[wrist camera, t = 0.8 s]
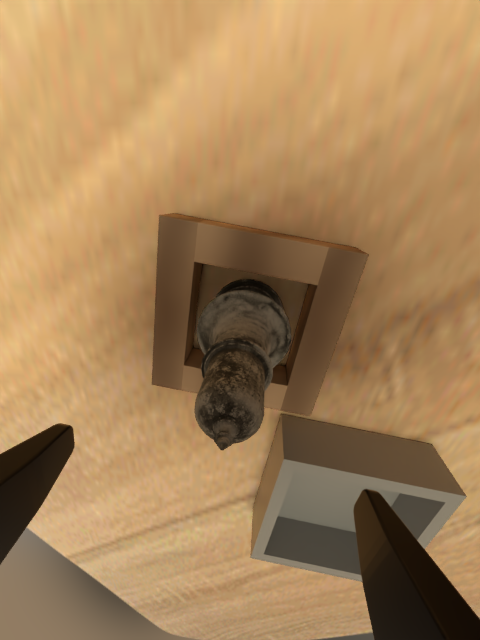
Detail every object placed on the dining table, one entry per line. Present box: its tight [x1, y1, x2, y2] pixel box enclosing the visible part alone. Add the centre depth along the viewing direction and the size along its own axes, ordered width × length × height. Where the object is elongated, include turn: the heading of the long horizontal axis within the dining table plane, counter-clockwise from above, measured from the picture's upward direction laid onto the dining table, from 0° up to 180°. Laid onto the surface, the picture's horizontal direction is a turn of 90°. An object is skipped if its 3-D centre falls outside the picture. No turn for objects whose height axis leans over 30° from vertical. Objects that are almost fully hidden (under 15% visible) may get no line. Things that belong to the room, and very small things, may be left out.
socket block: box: [152, 213, 369, 416], centre depth 19 cm, size 12×12×2 cm
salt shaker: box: [195, 279, 291, 450], centre depth 15 cm, size 6×6×12 cm
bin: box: [251, 414, 467, 582], centre depth 24 cm, size 13×13×4 cm
